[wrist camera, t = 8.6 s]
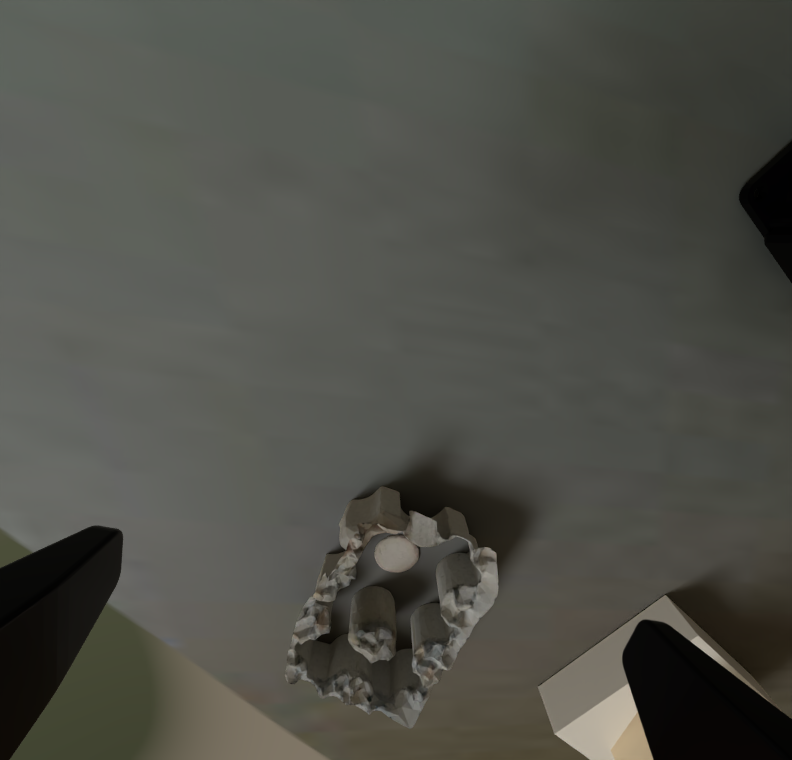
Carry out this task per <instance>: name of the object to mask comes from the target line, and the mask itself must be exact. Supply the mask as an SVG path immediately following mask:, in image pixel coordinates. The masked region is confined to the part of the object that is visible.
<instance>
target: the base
mask: <svg viewBox="0 0 792 760" xmlns="http://www.w3.org/2000/svg"><path fill="white" fill-rule="evenodd" d="M644 619H648V620H654V621H660V622H664V623H666V624H668V625H670V626H671V627H672V628H674V629H675V630H676V631H678V632H679V633H680V634H682V635H683V636H684V637H685V638H687V639H688V640H689V641H691V642H692V643H693V644H695V645H696V646H697V647H698V648H700V649H701V650H702V651H704V652H705V653H706V654H708V655H709V656H710V657H711V658H713V659H714V660H715V661H717V662H718V663H719V664H721V665H722V666H723V667H724V668H726V669H727V670H728V671H730V672H731V673H732V674H734V675H735V676H736V677H737V678H739V679H740V680H741V681H743V682H744V683H745V684H747V685H748V686H749V687H750V688H752V689H753V690H754V691H756V692H757V693H758V694H760V695H761V696H762V697H763V698H765V699H766V700H767V701H769V702H770V703H771V704H773V705H774V706H775V707H777V708H778V709H779V710H780V711H781V709H780V708H779V707H778V706H777V705H776V704H775V702H774V701H773V700H772V699H771V698H770V697H769V695H768V694H767V693H766V692H765V691H764V689H763V688H762V687H761V686H760V685H759V684H758V682H757V681H756V680H755V679H754V678H753V677H752V675H750V674H749V673H748V672H747V671H746V670H745V669H744V668H743V667H742V666H741V665H740V664H739V663H738V662H737V661H736V660H734V659H733V658H732V657H731V656H730V655H729V654H728V653H727V652H726V651H725V650H724V649H723V648H722V647H721V646H720V645H718V644H717V643H716V642H715V641H714V640H713V639H712V638H711V637H710V636H709V635H708V634H707V633H706V632H705V631H704V630H703V629H701V628H700V627H699V626H698V625H697V624H696V623H695V622H694V621H693V620H692V619H691V618H690V617H689V616H688V615H687V614H685V613H684V612H683V611H682V610H681V609H680V608H679V607H678V606H677V605H676V604H675V603H674V602H673V601H672V600H671V599H669V598H668V597H667V596H666V595H664V596H663V597H662V598H660V599H659V600H657V601H656V602H655V603H653V604H652V605H650V606H649V607H648V608H646V609H645V610H644V611H642V612H641V613H639V614H638V615H637V616H635V617H634V618H632V619H631V620H630V621H628V622H627V623H626V624H624V625H623V626H621V627H620V628H619V629H617V630H616V631H614V632H613V633H612V634H610V635H609V636H608V637H606V638H605V639H603V640H602V641H601V642H599V643H598V644H596V645H595V646H594V647H592V648H591V649H590V650H588V651H587V652H585V653H584V654H583V655H581V656H580V657H578V658H577V659H576V660H574V661H573V662H572V663H570V664H569V665H567V666H566V667H565V668H563V669H562V670H560V671H559V672H558V673H556V674H555V675H554V676H552V677H551V678H549V679H548V680H547V681H545V682H544V683H542V684H541V685H540V686H538V689H539V692H540V694H541V697H542V700H543V703H544V706H545V708H546V711H547V714H548V717H549V720H550V723H551V725H552V728H553V731H554V734H555V735H557V736H558V737H559V738H561V739H562V740H564V741H565V742H566V743H568V744H569V745H571V746H572V747H573V748H575V749H576V750H578V751H579V752H580V753H582V754H583V755H585V756H586V757H587V758H589V759H590V760H615V759H614V756H613V754H612V752H611V749H612V748H613V746H614V745H615V743H616V742H617V740H618V739H619V738H620V736H621V735H622V733H623V732H624V730H625V729H626V728H627V726H628V725H629V723H630V722H631V721H632V719H633V718H634V716H635V715H636V713H637V712H638V711H637V708H636V705H635V702H634V699H633V696H632V693H631V690H630V687H629V684H628V681H627V678H626V675H625V671H624V668H623V664H622V654H623V650H624V648H625V646H626V644H627V642H628V641H629V639H630V637H631V635H632V633H633V631H634V629H635V628H636V626H637V624H638V623H639V622H640V621H641V620H644Z"/></svg>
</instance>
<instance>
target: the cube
mask: <svg viewBox="0 0 792 760" xmlns="http://www.w3.org/2000/svg"><path fill="white" fill-rule="evenodd" d="M611 752H612V754H613V756H614V759H615V760H653V757H652V754H651V751H650V748H649V745H648V742H647V739H646V736H645V733H644V730H643V727H642V724H641V721H640V717H639V714H638V712H637V713H636V715H635V716H634V718H633V719H632V721H631V722H630V723H629V725H628V726H627V728H626V729H625V730H624V732H623V733H622V735H621V736H620V738H619V739H618V740H617V742H616V743H615V745H614V746H613V748H612V749H611Z"/></svg>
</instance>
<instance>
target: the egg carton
mask: <svg viewBox="0 0 792 760" xmlns="http://www.w3.org/2000/svg"><path fill="white" fill-rule="evenodd" d="M409 513H410V516H408V515H406V514H405V513H404V512H403V510H402V509H401V506H400V493H399V492H397V491H395V490H392V489H389V488H387V487H383V486H381V487H380V488H379V489H378V490H377V491H376V492H375V493H374V494H373V495H371V496H369V497H368V498H364V499H360V500H351V501H350V502H349V503H348V505H347V507H346V509H345V512H344V515H343V517H342V519H341V521H340V523H339V526H340V535H339V540H340V545H341V546H342V547H343V548H344V549H345V550H346V551H344V552H342V553H339V554H326V557H325V560H324V563H323V566H322V569H321V572H320V575H319V578H318V580H317V585H316V588H315V593H314V595H312V596H311V597H310V598H309V599H308V601H307V602H306V604H305V605H304V607H303V608H302V610H301V613H300V615H299V618H298V620H297V623H296V626H295V630H294V633H293V637H292V641H291V646H290V650H289V651H288V658H287V667H286V673H285V677H286V680H287V682H288V683H290V684H295V683H296V682H297V681H298V680H300V679H302V680H305V681H308V682H311V683H312V684H313V685H314V686H315V687H316V689H317V692H318V694H319V696H320V697H321V698H323V699H324V698H326V697H328V696H336V697H338V698H339V699H340V700H341V701H343V703H345V704H346V705H356V706H357V707H359V708H361V709H362V710H364V711H366V712H367V713H368V714H369V715H370V714H371V713H372V712H373V711H382V712H383V713H385V714H386V715H387V716H388V717H390V718H391V719H393V720H394V721H396V722H398V723H400V724H402V725H404V726H405V727H407V728H409V729H411V728H412V727H413V726H414V725H415V722H416V720H417V718H418V716H419V714H420V712H421V710H422V708H423V707H424V705H425V703H426V701H427V699H428V698H429V696H430V692H431V689H432V686H433V684H435V683H438V682H439V681H440V680H441V675H442V670H443V669H445V670H451V668H452V666H453V663H454V661H455V659H456V656H457V654H458V652H459V650H460V649H461V647H462V646H463V645H464V643H465V642H466V641H467V639H468V638H469V636H470V634H471V631H472V629H473V627H474V626H475V624H476V623H477V622H478V621H479V619H480V618H481V617H482V616H483V615H484V614H485V613H486V612H487V611H488V610H489V609H490V608H491V607H492V606H493V604H494V602H495V600H496V597H497V595H498V586H499V583H498V571H497V557H496V553H495V552H494V551H493V550H492V549H491V548H488V547H484V548H478V545H477V541H476V539H475V538H474V537H473V536H472V535H470V534H469V530H468V527H467V524H466V520H465V517H464V516H463V514H462V513H461V512H458V511H456V510H453V509H452V508H450V507H444V508H443V510H442V511H441V512H440V513H438V514H437V515H436V516H434V517H432V518H429V517H426V516H424V515H422V514H420V513H417V512H415V511H410V512H409ZM402 531H403V534H404V535H391V536H387V537H386V538H384V539H382V540H381V541H380V542H379V543H378V544H377V546H376V548H375V551H374V552H375V554H374V556H375V560H376V562H377V563H378V565H379V566H380V567H381V568H382V569H384V570H386V571H388V572H398V573H400V572H404V571H406V570H409V569H410V568H411V567H412V566H413V565H414V564H415V563H416V562H417V561H418V558H419V549H418V547H417V546H419V547H421V546H422V547H432V546H437V545H440V544H441V543H444V542H445V541H447V540H450V541H451V540H452V539H453V538H454V537H460V538H462V539H465V540H467V541H468V544H469V548H470V550H469V552H468V553H454V554H450V555H448V556H446V557H445V558H443V559H442V560H441V561H440V562H439V563H438V565H437V568H436V580H437V586H438V592H439V599H440V603H429V604H425V605H422V606H420V607H418V608H417V609H416V610H415V611H414V613H413V614H412V616H411V620H410V623H411V633H412V648H413V649H402V650H399V651H397V652H396V631H397V629H396V610H395V601H394V598H393V596H392V594H391V593H390V592H389V591H388V590H386V589H385V588H383V587H378V586H368V587H365V588H363V589H361V590H359V591H358V592H357V593H356V594H355V595H354V596H353V599H352V602H351V613H350V624H349V633H348V634H343V635H341V636H339V637H337V638H336V639H335V640H334V641H333V642H332V643H331V644H327V643H324V642H319V641H316V639H317V638H318V637H319V636H320V635H322V634H326V633H329V632H330V629H331V612H332V606H333V601H334V600H336V596H337V592H338V591H339V590H340V589H342V588H345V587H346V586H349V585H350V582H351V579H356V575H357V573H356V567H355V565H356V563H357V561H358V560H359V558H360V556H361V554H362V552H363V550H364V548H365V546H366V545H367V543H368V542H369V541H370V539H371V538H372V537H373V536H375V535H376V534H380V533H391V534H397V533H400V532H402Z"/></svg>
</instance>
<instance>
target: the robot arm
mask: <svg viewBox="0 0 792 760" xmlns="http://www.w3.org/2000/svg"><path fill="white" fill-rule="evenodd" d="M756 189H758V192H759V193H758V197H757V198H756V199H755V198H754V192H755V190H756ZM739 201H740V203H741V205H742V207H743V208H744V209H745V211H746V212H747V214H748V215H749V217H750V218H751V220H752V221H753V222H754V224H755V225H756V227H757V228H758V230H759V231H760V233H761V234H762V235H763V237H764V242H765V245H766V247H767V248H768V250H769V251H770V252H771V254H772V255H773V257H774V258H775V260H776V261H777V262H778V264H779V265H780V267H781V268H782V270H783V271H784V273H785V274H786V275H787V277H788V278H789V280H790V281H791V283H792V142H791V143H790V144H789V145H788V146H787V147H786V148H785V149H784V150H783V151H782V152H780V153H779V154H778V155H777V156H776V157H775V158H774V159H773V160H772V161H771V162H769V163H768V164H767V165H766V166H765V167H764V168H763V169H762V170H761V171H760V172H758V173H757V174H756V175H755V176H754V177H753V178H752V179H751V180H750V181H749V182H748V183H746V184H745V186H744V187H743V188H742V189H741V192H740V194H739ZM122 548H123V534H122V532H121V531H120V530H119V529H115V528H110V527H104V526H91V527H88V528H86V529H84V530H82V531H80V532H77V533H75V534H73V535H71V536H69V537H67V538H64V539H62V540H60V541H58V542H56V543H54V544H51V545H49V546H47V547H45V548H43V549H41V550H38V551H36V552H34V553H32V554H30V555H27V556H25V557H23V558H21V559H19V560H17V561H14V562H13V563H10V564H8V565H6V566H4V567H1V568H0V760H9V759H10V758H11V757H12V755H13V754H14V752H15V751H16V750H17V748H18V747H19V745H20V744H21V742H22V741H23V739H24V738H25V737H26V735H27V734H28V732H29V731H30V729H31V728H32V726H33V725H34V723H35V722H36V721H37V719H38V718H39V716H40V715H41V713H42V712H43V710H44V709H45V707H46V706H47V704H48V703H49V701H50V700H51V698H52V697H53V695H54V694H55V692H56V691H57V689H58V687H59V686H60V684H61V682H62V681H63V679H64V677H65V675H66V674H67V672H68V670H69V669H70V667H71V665H72V663H73V661H74V660H75V658H76V656H77V654H78V653H79V651H80V649H81V647H82V645H83V643H84V642H85V640H86V638H87V636H88V635H89V633H90V631H91V629H92V628H93V626H94V624H95V622H96V620H97V619H98V617H99V615H100V614H101V612H102V610H103V608H104V606H105V605H106V603H107V601H108V599H109V598H110V596H111V594H112V592H113V591H114V589H115V587H116V585H117V582H118V580H119V577H120V573H121V563H122ZM622 664H623V668H624V671H625V675H626V678H627V681H628V684H629V687H630V690H631V693H632V696H633V699H634V702H635V705H636V708H637V711H638V714H639V717H640V721H641V724H642V727H643V730H644V733H645V736H646V739H647V742H648V745H649V748H650V751H651V754H652V757H653V760H792V719H791V718H790V717H788V716H787V715H786V714H784V713H783V712H782V711H780V710H779V709H778V708H777V707H775V706H774V705H773V704H771V703H770V702H769V701H767V700H766V699H765V698H763V697H762V696H761V695H760V694H758V693H757V692H756V691H754V690H753V689H752V688H750V687H749V686H748V685H747V684H745V683H744V682H743V681H741V680H740V679H739V678H737V677H736V676H735V675H734V674H732V673H731V672H730V671H728V670H727V669H726V668H724V667H723V666H722V665H721V664H719V663H718V662H717V661H715V660H714V659H713V658H711V657H710V656H709V655H708V654H706V653H705V652H704V651H702V650H701V649H700V648H698V647H697V646H696V645H695V644H693V643H692V642H691V641H689V640H688V639H687V638H685V637H684V636H683V635H682V634H680V633H679V632H678V631H676V630H675V629H674V628H672V627H671V626H670V625H668V624H666V623H664V622H660V621H654V620H648V619H644V620H641V621H640V622H639V623H638V624H637V626H636V628H635V629H634V631H633V633H632V635H631V637H630V639H629V641H628V642H627V644H626V646H625V648H624V650H623V654H622Z"/></svg>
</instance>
